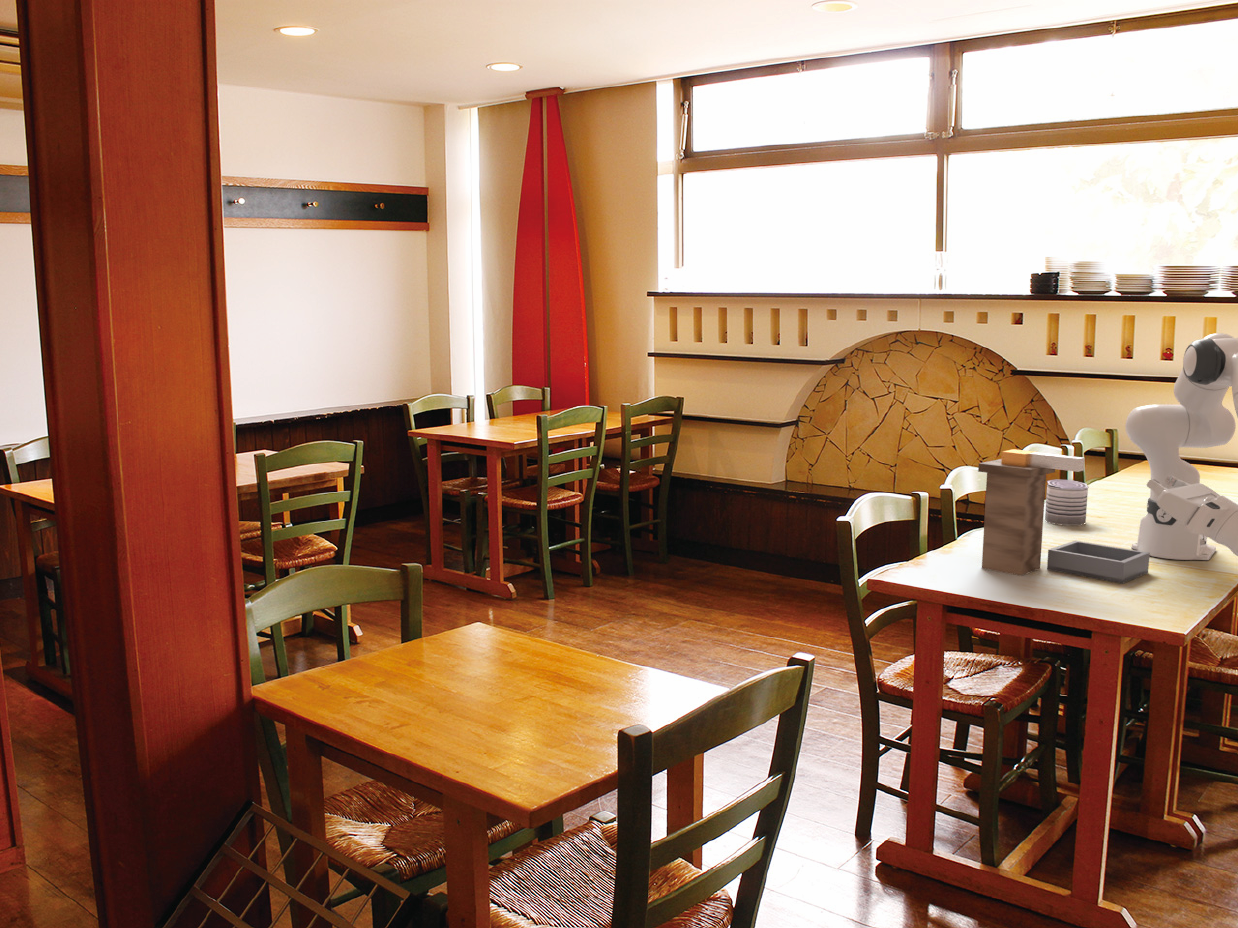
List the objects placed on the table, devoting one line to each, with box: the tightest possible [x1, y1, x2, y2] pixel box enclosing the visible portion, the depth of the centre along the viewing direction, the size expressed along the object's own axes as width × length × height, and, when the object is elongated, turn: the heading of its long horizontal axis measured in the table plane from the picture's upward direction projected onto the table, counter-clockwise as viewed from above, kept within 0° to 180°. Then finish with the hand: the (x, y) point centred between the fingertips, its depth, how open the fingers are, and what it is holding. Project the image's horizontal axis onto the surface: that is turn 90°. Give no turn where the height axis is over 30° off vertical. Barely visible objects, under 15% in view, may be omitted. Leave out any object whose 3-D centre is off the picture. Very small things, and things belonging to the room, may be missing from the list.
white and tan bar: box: [1001, 449, 1086, 473], centre depth 250 cm, size 18×6×3 cm, turn 43°
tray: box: [1046, 540, 1150, 584], centre depth 256 cm, size 15×18×5 cm
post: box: [977, 458, 1056, 577], centre depth 257 cm, size 13×13×26 cm
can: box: [1044, 478, 1089, 526], centre depth 315 cm, size 11×11×12 cm
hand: (1158, 480), depth 231 cm, fingers open, 8 cm apart
